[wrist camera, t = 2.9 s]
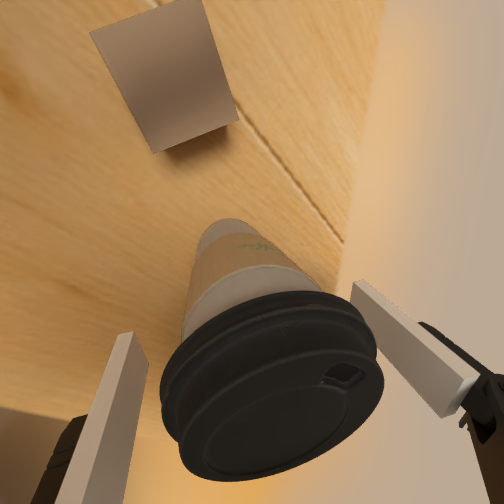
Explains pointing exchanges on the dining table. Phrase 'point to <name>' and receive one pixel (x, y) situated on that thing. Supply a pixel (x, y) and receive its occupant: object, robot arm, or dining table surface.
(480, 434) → the robot arm
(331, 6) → the dining table surface
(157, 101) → the walnut cube
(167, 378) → the coffee cup
